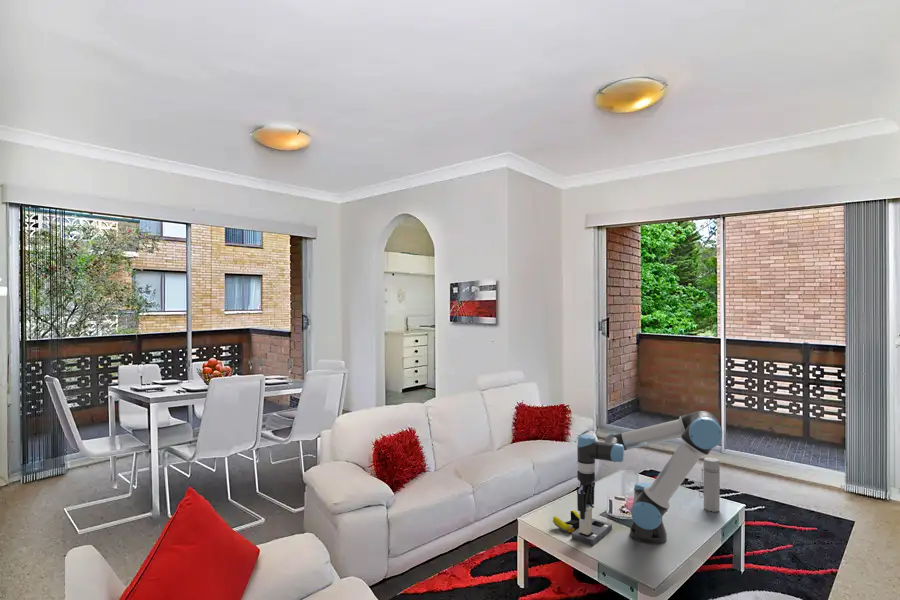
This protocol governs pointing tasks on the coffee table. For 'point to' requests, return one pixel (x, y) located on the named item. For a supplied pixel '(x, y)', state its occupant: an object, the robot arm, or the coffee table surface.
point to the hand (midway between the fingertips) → (585, 523)
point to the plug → (587, 529)
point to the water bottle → (711, 484)
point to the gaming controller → (569, 525)
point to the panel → (593, 532)
